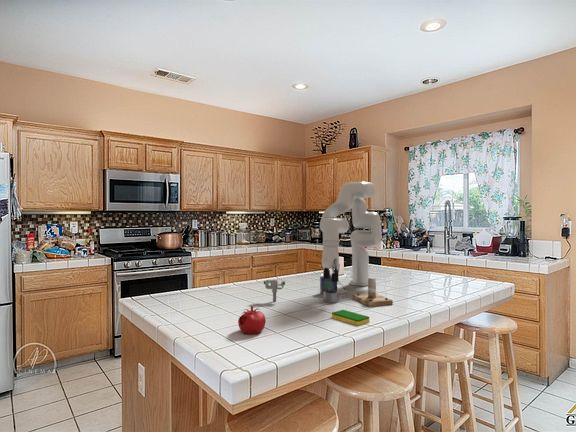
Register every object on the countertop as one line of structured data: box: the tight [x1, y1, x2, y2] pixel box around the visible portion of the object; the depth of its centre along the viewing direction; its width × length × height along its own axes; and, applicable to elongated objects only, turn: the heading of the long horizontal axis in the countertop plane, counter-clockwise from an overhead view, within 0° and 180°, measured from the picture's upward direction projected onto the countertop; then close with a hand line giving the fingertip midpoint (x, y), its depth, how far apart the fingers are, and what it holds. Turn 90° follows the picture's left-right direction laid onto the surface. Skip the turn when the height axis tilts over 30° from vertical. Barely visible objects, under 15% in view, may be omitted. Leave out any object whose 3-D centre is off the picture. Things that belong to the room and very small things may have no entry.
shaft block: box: [352, 277, 394, 307], centre depth 171 cm, size 16×12×11 cm
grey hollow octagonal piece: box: [322, 290, 340, 304], centre depth 172 cm, size 7×7×4 cm
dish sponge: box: [331, 309, 370, 326], centre depth 143 cm, size 7×14×2 cm, turn 40°
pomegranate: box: [237, 305, 267, 335], centre depth 130 cm, size 10×10×9 cm
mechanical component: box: [263, 279, 286, 303], centre depth 171 cm, size 3×10×10 cm, turn 79°
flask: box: [319, 274, 338, 295], centre depth 187 cm, size 9×3×11 cm, turn 65°
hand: (330, 279), depth 171 cm, fingers open, 9 cm apart
